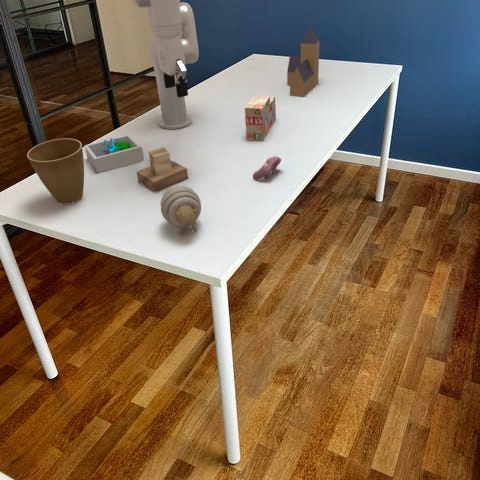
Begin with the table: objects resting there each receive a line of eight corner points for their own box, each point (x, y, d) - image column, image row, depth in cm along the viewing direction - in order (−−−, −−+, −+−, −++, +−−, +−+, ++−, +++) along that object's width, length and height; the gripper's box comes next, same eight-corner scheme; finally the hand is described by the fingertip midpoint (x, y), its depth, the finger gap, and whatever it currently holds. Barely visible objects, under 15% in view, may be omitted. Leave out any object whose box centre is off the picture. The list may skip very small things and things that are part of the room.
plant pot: (55, 186, 152) (41, 138, 143) (101, 186, 150) (89, 137, 141) (34, 211, 140) (16, 160, 130) (84, 211, 138) (69, 160, 129)
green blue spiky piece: (112, 159, 160) (101, 138, 160) (99, 168, 164) (89, 147, 164) (136, 155, 170) (127, 135, 170) (124, 163, 174) (115, 144, 174)
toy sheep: (173, 246, 121) (167, 208, 115) (155, 215, 134) (148, 179, 128) (213, 234, 125) (209, 197, 118) (191, 205, 137) (186, 170, 131)
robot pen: (87, 159, 167) (84, 145, 164) (131, 147, 173) (129, 134, 170) (97, 173, 158) (94, 159, 155) (144, 160, 164) (141, 146, 161)
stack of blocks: (260, 118, 189) (259, 87, 182) (276, 119, 188) (275, 87, 181) (246, 140, 173) (244, 107, 166) (263, 141, 171) (262, 107, 164)
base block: (138, 183, 151) (136, 171, 149) (170, 170, 158) (168, 158, 155) (156, 194, 145) (154, 182, 143) (188, 179, 151) (187, 168, 149)
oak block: (151, 168, 150) (148, 150, 147) (166, 164, 152) (163, 146, 148) (156, 174, 146) (153, 156, 143) (172, 170, 148) (169, 152, 145)
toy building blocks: (318, 84, 220) (320, 25, 206) (303, 97, 206) (304, 35, 192) (292, 81, 225) (292, 24, 211) (276, 94, 211) (275, 33, 197)
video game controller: (262, 186, 147) (271, 170, 142) (250, 178, 148) (258, 161, 143) (277, 173, 154) (286, 156, 149) (265, 164, 155) (274, 148, 150)
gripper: (145, 27, 138) (154, 86, 149) (166, 39, 126) (175, 103, 136) (169, 22, 141) (177, 81, 151) (193, 34, 128) (199, 97, 139)
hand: (176, 91), depth 144 cm, fingers open, 9 cm apart
